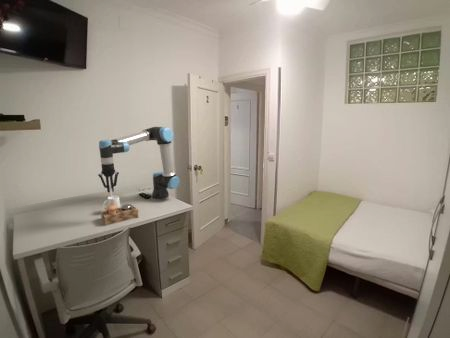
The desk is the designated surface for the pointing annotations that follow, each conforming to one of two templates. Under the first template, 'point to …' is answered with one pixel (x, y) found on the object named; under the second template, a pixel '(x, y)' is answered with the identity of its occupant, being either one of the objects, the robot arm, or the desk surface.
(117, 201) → the mug
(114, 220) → the block
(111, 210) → the peach ball
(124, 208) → the ball grey
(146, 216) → the desk surface
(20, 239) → the desk surface
